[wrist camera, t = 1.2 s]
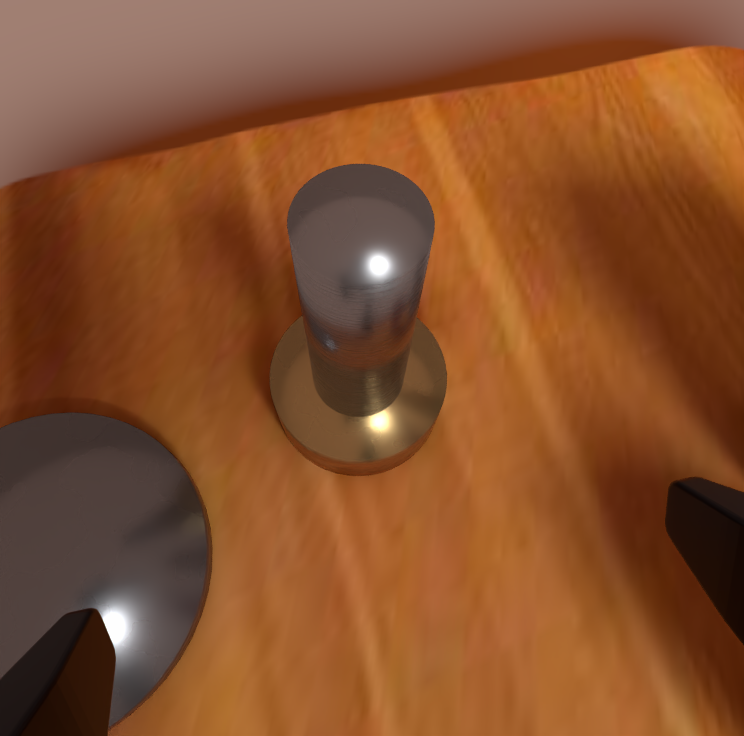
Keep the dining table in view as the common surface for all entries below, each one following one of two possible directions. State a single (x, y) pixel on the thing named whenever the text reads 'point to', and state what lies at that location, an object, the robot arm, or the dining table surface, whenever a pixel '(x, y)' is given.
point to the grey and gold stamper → (359, 323)
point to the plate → (101, 544)
